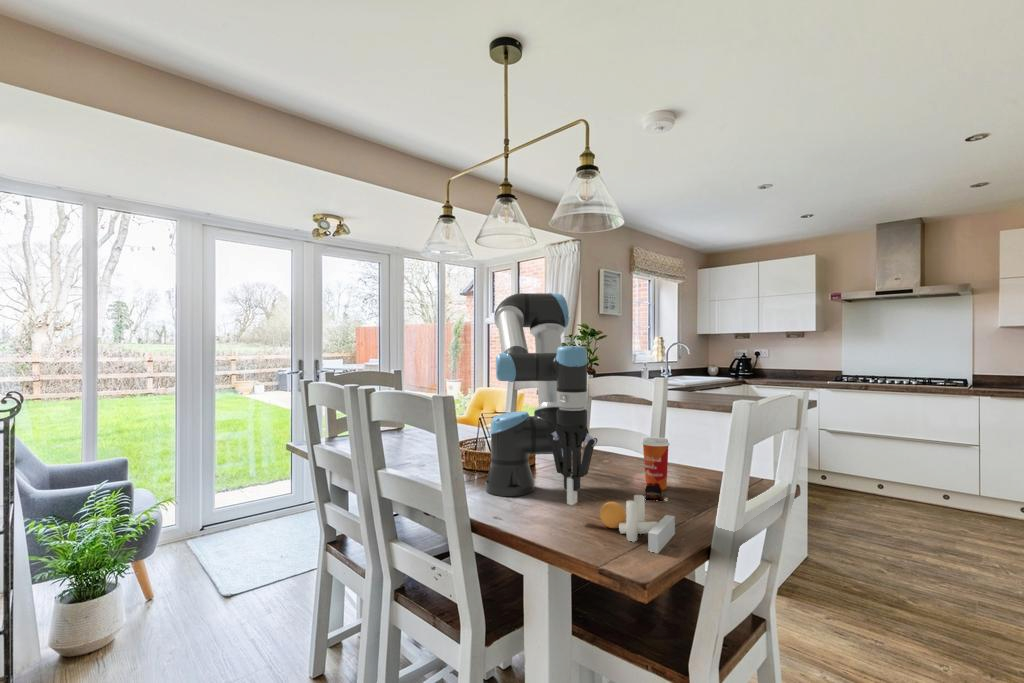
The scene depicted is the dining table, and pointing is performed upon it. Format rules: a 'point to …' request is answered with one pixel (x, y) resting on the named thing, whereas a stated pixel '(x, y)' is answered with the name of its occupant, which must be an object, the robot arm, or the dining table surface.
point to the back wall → (661, 533)
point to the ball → (612, 514)
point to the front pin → (638, 527)
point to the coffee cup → (656, 460)
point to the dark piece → (654, 489)
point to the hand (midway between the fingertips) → (572, 502)
